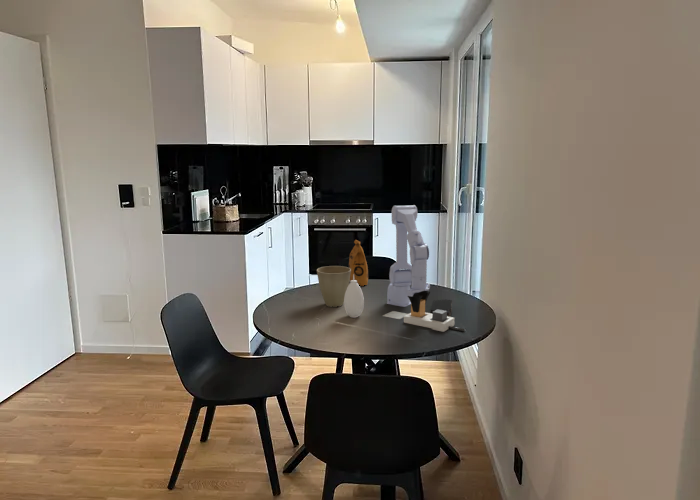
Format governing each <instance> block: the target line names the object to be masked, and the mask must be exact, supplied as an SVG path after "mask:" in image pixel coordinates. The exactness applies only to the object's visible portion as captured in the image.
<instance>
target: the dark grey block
mask: <svg viewBox="0 0 700 500" xmlns="http://www.w3.org/2000/svg"><path fill="white" fill-rule="evenodd" d="M432 320H434V321H440V322H444V321H446V320H447V311H443V310H438V309H437V310H435V311H433V314H432Z"/></svg>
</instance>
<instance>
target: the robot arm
mask: <svg viewBox="0 0 700 500" xmlns="http://www.w3.org/2000/svg"><path fill="white" fill-rule="evenodd" d="M418 215H419V213H418V207H417V206H416V205H415V204H413V205H393V206H392V208H391V224H392V225H394V226H395V232H396V233H395V234H396V236H395V237H396V244H395V245H396V247H395V248H396V254H395V255H396V258H395V259H396V262H394V263H393V264H392V265H391V266H390V268H389V273H388V275H389V276H388V277H389V283H388V286H387V291H386V292H387V293H386V294H387V296H386V297H387V299H386V301H387V302H386V305H387V304H388V305H392V306H398V307H402V308H405V307H408V306H411V305H412V309H413V312H419V307H420V301H421V299H423V300H425V305H426V304H427V301H428V298H429V296H430V295H431V291H430V289H431V283H427V269H428V268H427V267H428V265H427V262H428V261H427V260H428V259H429V257H430V249H429V246H428V244H427V243H426V242H424V239H423V237H422V236H423V235H422V233H421V232H420V231H419V230H418V229H417V223H416V221H417V218H418ZM408 246H409V258H410V263H408Z"/></svg>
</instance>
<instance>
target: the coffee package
mask: <svg viewBox="0 0 700 500" xmlns="http://www.w3.org/2000/svg"><path fill="white" fill-rule="evenodd" d="M353 243H354V244H355V245H354V246H353V247H352V249H351V251H350V253H349V257H348V258H349V259H348V268H350V269H351V274H350V280H349V282H350V281H351V280H353V274H354V280H356V281H357V283H358V284H359V285H360V287H364V285H367V286H368V281H369V269H368V268H369V267H368V264H367V263H368V262H367V260H366V256H365V253H364V249H363V247H362V246H361V241H359V240H357V239H355V240H354V241H353Z"/></svg>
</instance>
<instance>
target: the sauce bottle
mask: <svg viewBox="0 0 700 500" xmlns="http://www.w3.org/2000/svg"><path fill="white" fill-rule="evenodd" d="M363 293H364V292H363V290H362V288H361V286H359V284H358V283H357V281H356V280H354V274H353V280H351V281H350V280H349V285H348V287H347V290H346V292H345V297H344V302H343V306H344V309H345V312H346V314H347V316H349V317H350V318H359V316H360V315H362V313H363V311H364V307H365V298H364V294H363Z"/></svg>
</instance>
